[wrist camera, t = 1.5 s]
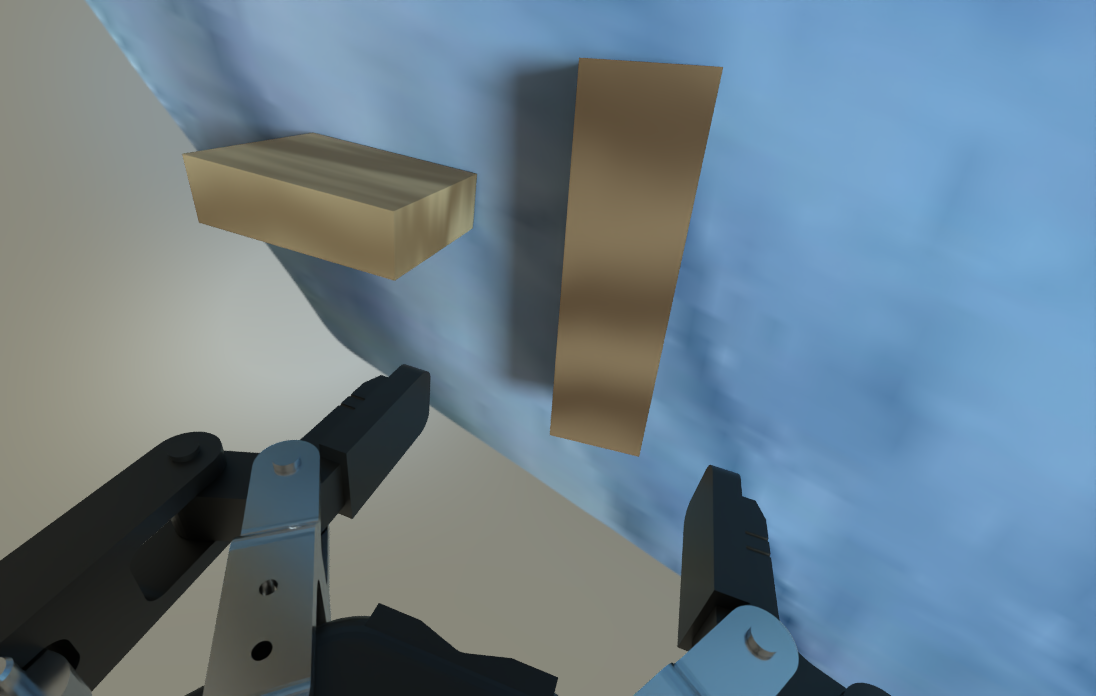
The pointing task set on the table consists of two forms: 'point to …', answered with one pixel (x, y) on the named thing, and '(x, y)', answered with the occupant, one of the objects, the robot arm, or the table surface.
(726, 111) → the table surface
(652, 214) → the batten
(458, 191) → the fulcrum
